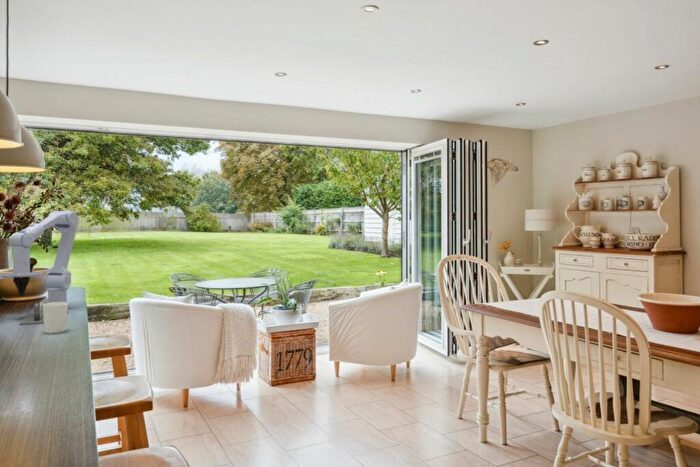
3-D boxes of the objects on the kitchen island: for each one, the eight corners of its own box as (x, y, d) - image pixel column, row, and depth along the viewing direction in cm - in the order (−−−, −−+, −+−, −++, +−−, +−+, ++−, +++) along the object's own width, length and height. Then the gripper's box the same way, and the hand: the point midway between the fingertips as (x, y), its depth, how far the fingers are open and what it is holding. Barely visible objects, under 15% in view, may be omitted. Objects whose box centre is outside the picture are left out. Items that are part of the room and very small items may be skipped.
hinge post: (34, 321, 198) (34, 303, 198) (40, 320, 199) (40, 303, 199) (33, 322, 196) (33, 304, 196) (39, 321, 197) (39, 304, 197)
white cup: (72, 329, 185) (72, 302, 185) (58, 334, 178) (58, 306, 177) (53, 328, 186) (52, 301, 186) (37, 333, 178) (37, 305, 178)
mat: (30, 314, 211) (30, 313, 211) (68, 312, 217) (68, 311, 217) (19, 325, 191) (19, 323, 191) (61, 322, 197) (61, 321, 197)
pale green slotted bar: (41, 312, 211) (41, 301, 211) (45, 312, 212) (45, 301, 211) (35, 318, 199) (35, 307, 198) (39, 318, 199) (39, 306, 199)
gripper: (-3, 263, 196) (-2, 298, 196) (40, 262, 202) (41, 296, 202) (2, 262, 202) (2, 295, 203) (43, 261, 208) (43, 294, 209)
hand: (21, 296), depth 203 cm, fingers closed
